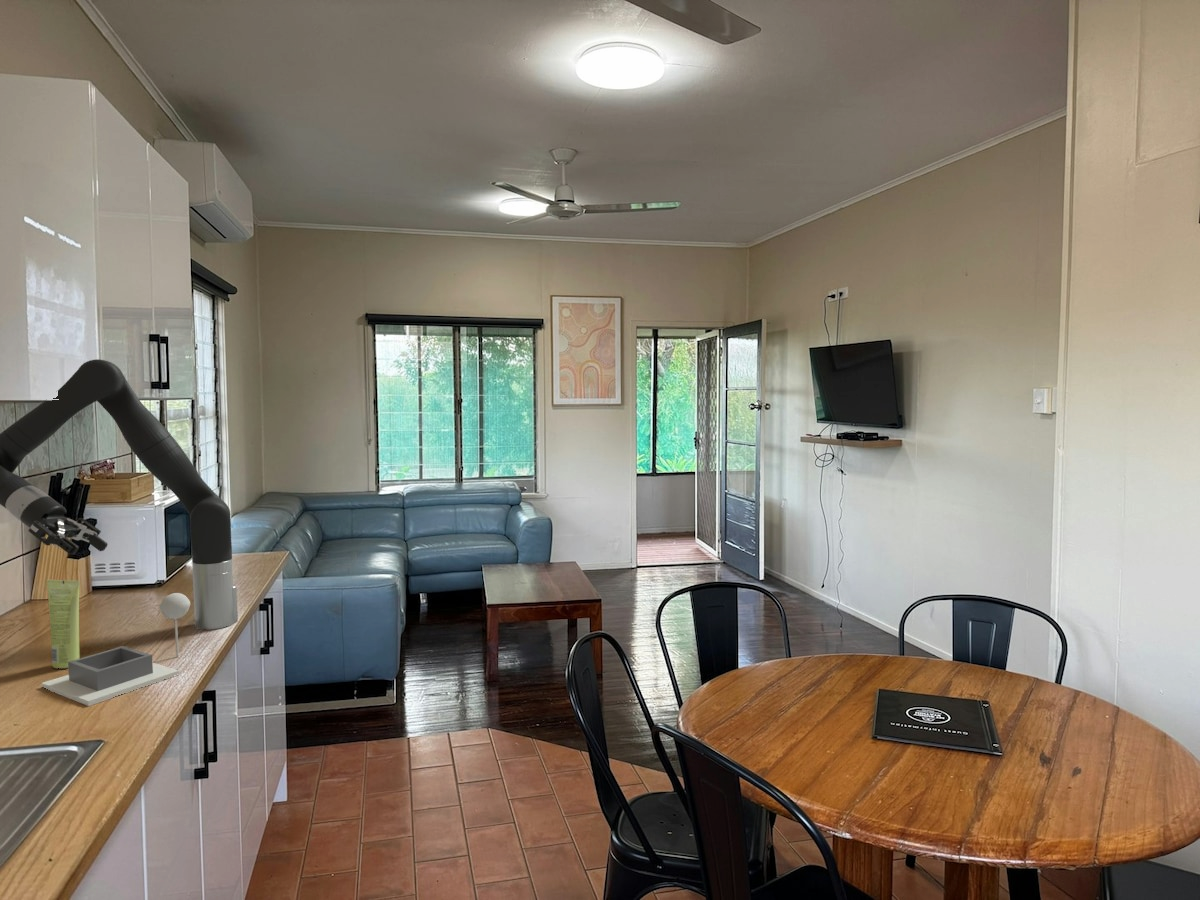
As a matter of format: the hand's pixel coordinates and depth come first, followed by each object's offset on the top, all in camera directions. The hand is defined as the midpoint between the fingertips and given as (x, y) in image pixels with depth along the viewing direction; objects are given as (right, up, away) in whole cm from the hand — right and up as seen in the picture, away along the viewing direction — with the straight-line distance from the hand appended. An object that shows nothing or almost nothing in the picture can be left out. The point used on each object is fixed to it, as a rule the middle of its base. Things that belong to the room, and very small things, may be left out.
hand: (90, 549), depth 167 cm
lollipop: (+17, -26, +5) cm, 31 cm away
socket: (+11, -27, -10) cm, 31 cm away
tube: (-4, -26, -1) cm, 26 cm away
